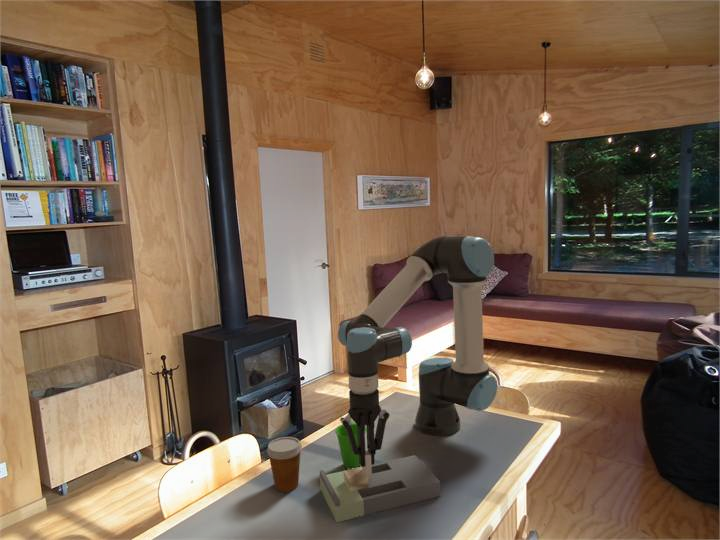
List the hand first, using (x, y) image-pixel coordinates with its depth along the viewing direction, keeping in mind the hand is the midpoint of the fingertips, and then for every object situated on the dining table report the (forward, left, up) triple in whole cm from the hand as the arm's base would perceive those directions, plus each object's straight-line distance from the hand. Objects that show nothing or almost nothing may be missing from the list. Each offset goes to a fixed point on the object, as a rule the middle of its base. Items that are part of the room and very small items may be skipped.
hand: (367, 476), depth 129 cm
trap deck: (-3, 0, -5) cm, 6 cm away
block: (+3, 0, -1) cm, 3 cm away
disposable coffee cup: (+19, -14, -6) cm, 24 cm away
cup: (-1, -17, -6) cm, 18 cm away
